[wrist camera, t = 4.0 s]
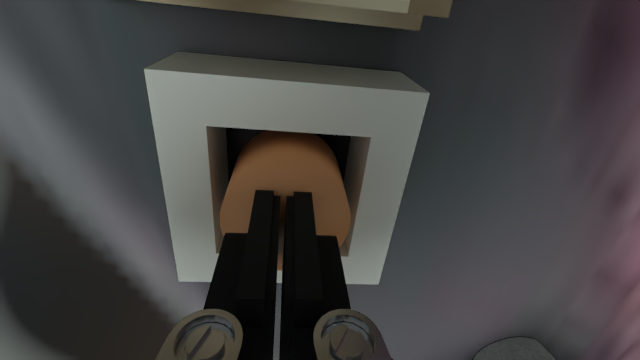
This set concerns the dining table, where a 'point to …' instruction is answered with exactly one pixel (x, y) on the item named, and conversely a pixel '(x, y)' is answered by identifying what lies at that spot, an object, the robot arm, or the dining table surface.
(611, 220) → the dining table surface
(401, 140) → the button console
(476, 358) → the house plant
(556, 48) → the dining table surface
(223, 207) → the button
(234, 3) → the beige square tray
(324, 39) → the dining table surface
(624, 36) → the dining table surface
